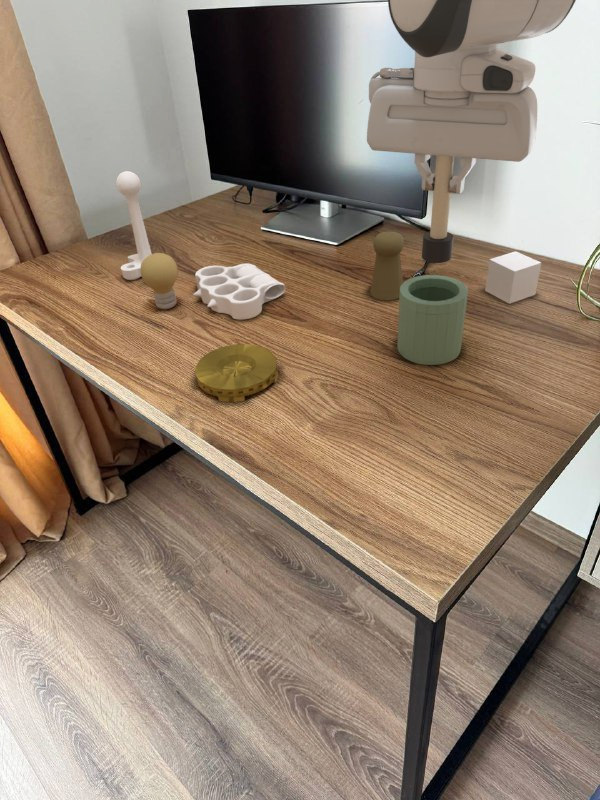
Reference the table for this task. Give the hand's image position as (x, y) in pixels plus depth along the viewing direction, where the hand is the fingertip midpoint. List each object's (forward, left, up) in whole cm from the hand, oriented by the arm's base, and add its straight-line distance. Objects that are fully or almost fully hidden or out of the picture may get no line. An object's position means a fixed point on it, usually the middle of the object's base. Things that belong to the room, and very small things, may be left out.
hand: (442, 190), depth 75 cm
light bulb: (+48, +4, -25) cm, 54 cm away
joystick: (+62, -5, -25) cm, 67 cm away
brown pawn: (+13, -16, -25) cm, 32 cm away
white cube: (-7, -24, -25) cm, 35 cm away
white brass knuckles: (+38, -4, -25) cm, 46 cm away
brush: (0, 0, -9) cm, 9 cm away
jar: (0, -1, -24) cm, 24 cm away
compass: (+23, +18, -25) cm, 38 cm away
